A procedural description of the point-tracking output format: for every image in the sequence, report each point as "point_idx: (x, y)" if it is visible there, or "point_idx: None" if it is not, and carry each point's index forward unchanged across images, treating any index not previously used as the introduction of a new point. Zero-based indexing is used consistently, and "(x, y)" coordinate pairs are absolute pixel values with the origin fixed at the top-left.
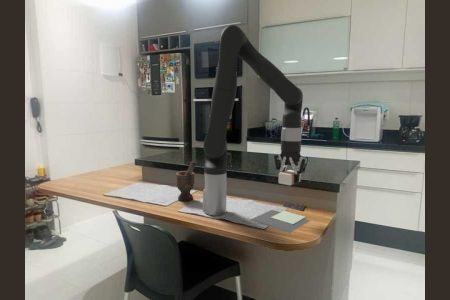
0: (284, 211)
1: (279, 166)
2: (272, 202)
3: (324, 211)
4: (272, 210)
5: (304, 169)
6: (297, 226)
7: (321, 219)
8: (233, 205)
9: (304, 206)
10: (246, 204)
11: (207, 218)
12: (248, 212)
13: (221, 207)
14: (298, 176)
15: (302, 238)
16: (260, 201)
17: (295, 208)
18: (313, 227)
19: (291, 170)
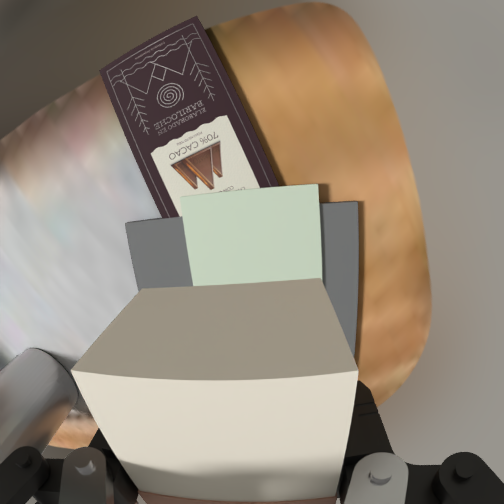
0: (187, 202)
1: (42, 501)
2: (56, 123)
3: (318, 17)
4: (133, 231)
5: (491, 496)
6: (346, 310)
7: (373, 128)
8: (15, 292)
9: (207, 38)
10: (22, 245)
11: (86, 422)
12: (89, 313)
13: (65, 406)
14: (376, 447)
15: (396, 360)
16: (22, 163)
17: (191, 101)
18: (392, 249)
19: (134, 401)
